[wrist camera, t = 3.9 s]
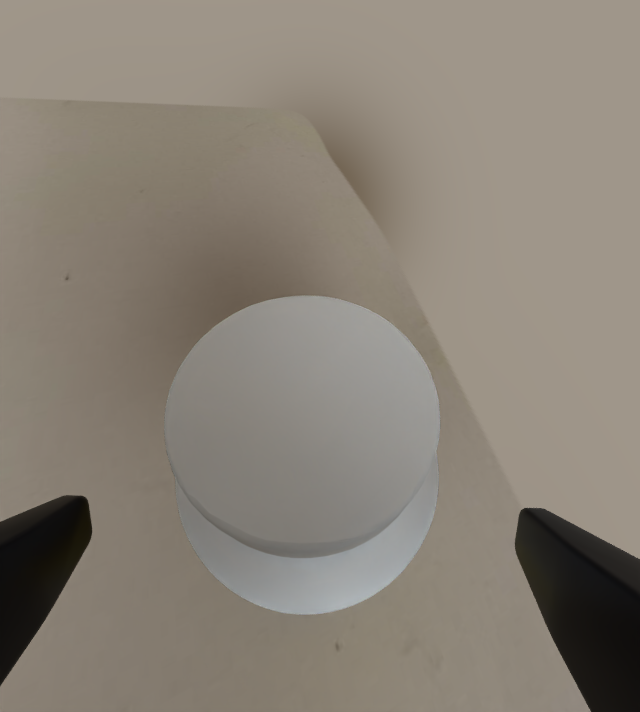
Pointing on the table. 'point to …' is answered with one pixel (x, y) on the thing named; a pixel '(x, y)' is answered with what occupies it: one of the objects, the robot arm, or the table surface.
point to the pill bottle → (304, 452)
